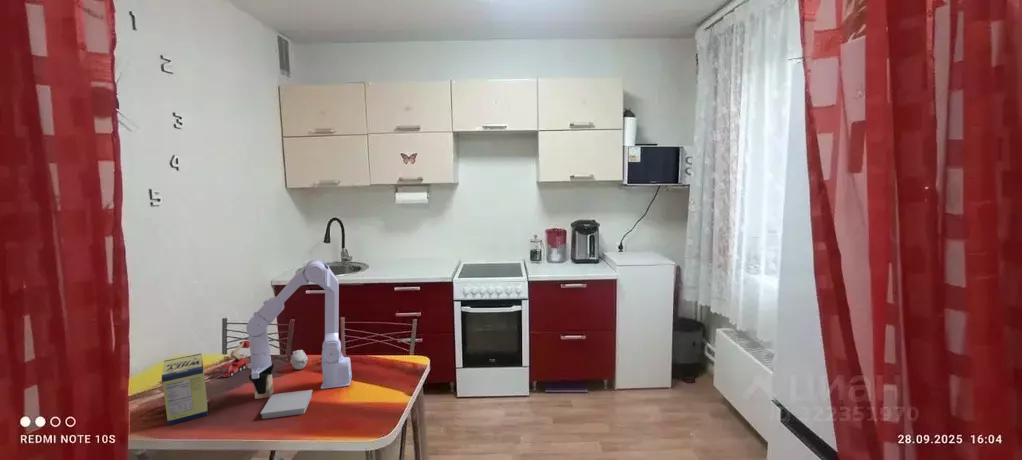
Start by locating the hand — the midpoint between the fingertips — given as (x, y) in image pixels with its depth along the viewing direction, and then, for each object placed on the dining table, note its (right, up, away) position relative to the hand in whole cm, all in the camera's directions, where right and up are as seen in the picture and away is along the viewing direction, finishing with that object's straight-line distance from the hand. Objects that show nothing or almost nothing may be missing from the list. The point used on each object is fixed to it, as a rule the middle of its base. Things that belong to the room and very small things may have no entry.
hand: (264, 390), depth 161 cm
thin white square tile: (+12, -3, -8) cm, 15 cm away
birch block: (0, -2, 0) cm, 2 cm away
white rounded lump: (+3, +1, +21) cm, 21 cm away
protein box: (-19, -4, -9) cm, 22 cm away
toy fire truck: (-21, 0, +21) cm, 30 cm away
